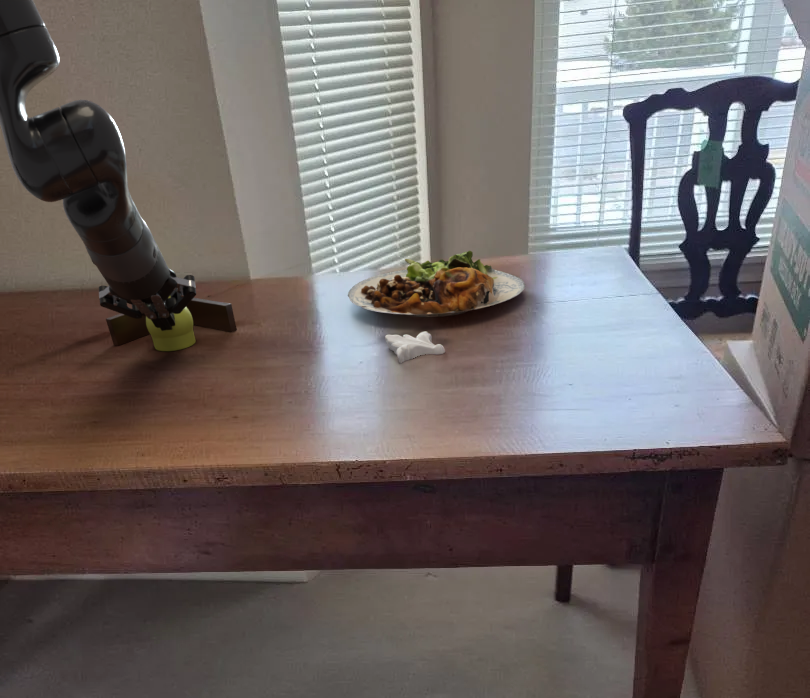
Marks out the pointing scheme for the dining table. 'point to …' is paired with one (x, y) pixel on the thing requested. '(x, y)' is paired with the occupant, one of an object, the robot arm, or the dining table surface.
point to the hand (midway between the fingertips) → (166, 324)
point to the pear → (173, 333)
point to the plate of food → (436, 288)
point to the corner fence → (200, 309)
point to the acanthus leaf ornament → (413, 346)
